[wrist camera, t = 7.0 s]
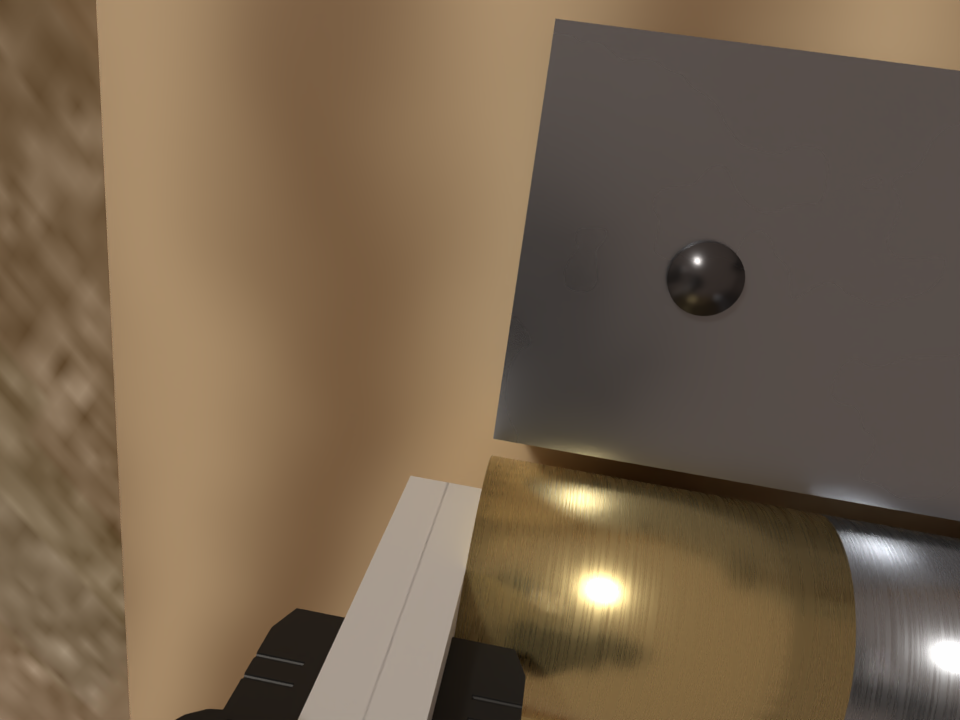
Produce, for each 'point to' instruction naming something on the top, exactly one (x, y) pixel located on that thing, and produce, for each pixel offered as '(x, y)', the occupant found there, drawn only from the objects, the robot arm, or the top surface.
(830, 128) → the fixed leaf
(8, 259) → the top surface
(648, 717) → the loose leaf
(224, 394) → the board
